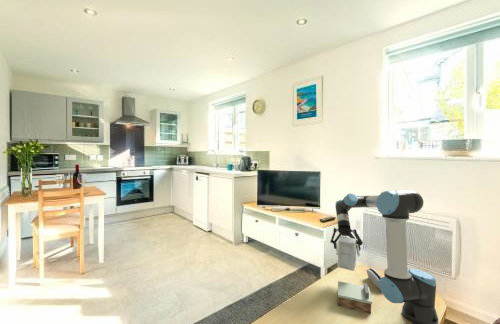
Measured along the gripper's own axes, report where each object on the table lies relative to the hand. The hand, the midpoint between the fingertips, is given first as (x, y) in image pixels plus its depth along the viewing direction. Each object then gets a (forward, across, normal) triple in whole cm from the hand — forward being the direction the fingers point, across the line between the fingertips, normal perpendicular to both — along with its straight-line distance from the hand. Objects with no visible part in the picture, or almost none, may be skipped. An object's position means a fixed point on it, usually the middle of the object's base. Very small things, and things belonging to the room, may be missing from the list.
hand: (348, 254), depth 147 cm
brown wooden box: (+24, -1, -6) cm, 25 cm away
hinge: (+9, -20, -21) cm, 31 cm away
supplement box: (+4, 0, -8) cm, 9 cm away
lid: (+20, -1, -2) cm, 20 cm away
